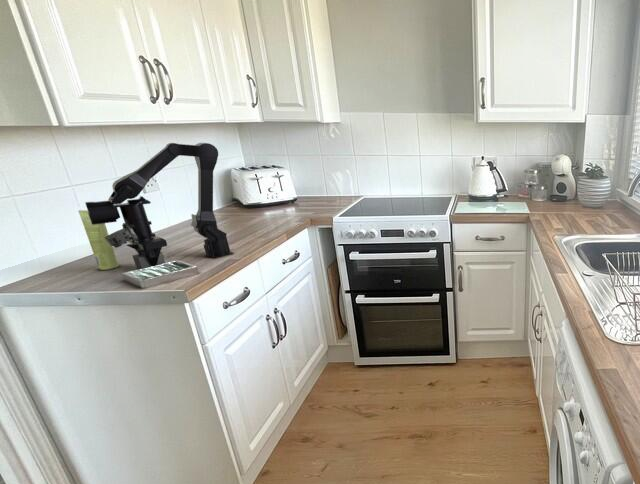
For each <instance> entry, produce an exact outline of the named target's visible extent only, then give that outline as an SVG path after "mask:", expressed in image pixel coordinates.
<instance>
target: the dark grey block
mask: <svg viewBox="0 0 640 484" xmlns="http://www.w3.org/2000/svg"><path fill="white" fill-rule="evenodd" d="M164 257H165V256H164V254H163V252H162V251H160V254H159V258H158V262H157V265H159V264H163V263H166V260H165V258H164ZM132 259H133V262H134V265H135V268H136V270H138V269H142V268H146V267H150V266H151V264H150V262H149V260H148V259H147V257H146V255H145V253H141V254H138V253H137V254H132Z"/></svg>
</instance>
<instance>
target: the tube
mask: <svg viewBox="0 0 640 484" xmlns="http://www.w3.org/2000/svg"><path fill="white" fill-rule="evenodd" d="M77 212H78V214H79V217H80V219H81V222H82V225H83V228H84V231H85V234H86V236H87V239H88V242H89V244H90V248H91V251H92V254H93V256H94V260H95V262H96V265H97V268H98V270H101V271H105V270H111V269H112V270H113V269H116V268H118V267H119V261H118V259H117V257H116V252H115V249H114V247H113V246H111V245H110V244H109V243H108V242H107V241H106V240H105V237H106V236H108V235H109V232H108V229H107V225H106V223H103V224H96V225H92V223H91V221H90V218H89V215H88V213H87V212H88V210H87V209H86V210H85V209H84V210H83V209H78V211H77Z"/></svg>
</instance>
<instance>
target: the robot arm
mask: <svg viewBox="0 0 640 484" xmlns="http://www.w3.org/2000/svg"><path fill="white" fill-rule="evenodd" d="M180 156H184V157H193V158H194V161H195V164H196V167H197V212H196V214H194V213H192V214H191V215H190V216H191V224H190V226H191V227H193V230H194V231H195V232H196V233H197V234H198V235H200V236H202V237H204V238H205V239H203V248H204V252H205V254H204V255H205V256H206V257H209V258H213V259H217V258H221V257H224V256H229V255H233V254H234V252H233V251H231V249H230V245H229V241H228V237H227V236H228V235H227V233H226V232H225V231H223V230H222V229H219V228H218V223H217V219H216V215H215V214H214V171H215V167H216V165H217V163H218V158H219V150H218V148H217V146H215V145H213V144H212V143H208V142H199V143H198V142H197V143H196V144H195V145H194V144H183V143H176V142H169V143H167V144H166V145H165V146H164V147H163V148H162V149H161V150H159V152H157V153H156V154H155V155H154V156H152V157H150V159H149V160H147V161H146V162H145V163H143V164H142V165H141V166H140V167H139V168H138V169H136V170H134V171H132V172H130V173H128V174H126V175H123V176H122V177H120V178H118V179H115V180H114V182H113V183H112V186H111V187H112V192H111V194H110V196H109V197H108V200H101V201H85V202H84V203H85V207H86V210H87V211H88V212H87V213H88V215H89V218H90V221H91V223H92V225H96V224H103V223H105V224H109V223H117V222H118V221H117V220H119V219H121V216H122V218H123V221H124V222H123V223H122V225H121V226H122V228H121V229H118V230H116V231H114V232H112V233H110V234H108V236H106V237H105V240H106V241H107V242H108V243H109V244H110V245H111V246H112V247H113V248H116V249H117V248H120V247H122V246H123V245H125V244H126V246H127V247H129V248H131V249H133V250H135V252H136V253H137V254H141V253H145V255H146V257H147V259H148V260H149V262H150V264H151V266H155V265H157V262H158V258H159V254H160V252H162V249H163V248H165V247H167V246H168V243H167V240H166V239H165V238H163V237H159V236H156V233H154V232H153V230H152V227H151V225H153V224H152V221H151V220H149V218H148V215H147V212H146V209H145V206H144V205H150V204H151V201H150V200H149V199H147V198H145V197H144V196H143V195H140V194H141V192H142V191H143V190H144V189H145V187H146V186H147V185H148V183H149V181H150V180H151V179H153V178H154V176H156V175H157V174H158V173H160V172H161V170H163V169H164V168H166V167H167V166H168V165H169V164H170V163H172V161H174V160H176V158H178V157H180ZM139 195H140V196H139ZM138 196H139V197H138ZM137 197H138V198H137ZM135 198H136V199H135ZM125 201H126V202H125ZM118 208H119V209H120V212H121V215H120V212H119V210H118ZM127 243H128V244H127Z"/></svg>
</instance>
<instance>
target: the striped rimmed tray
mask: <svg viewBox="0 0 640 484" xmlns="http://www.w3.org/2000/svg"><path fill="white" fill-rule="evenodd" d="M198 274H199V270H198V267H197V265H195V264H191V263H189V262H185V261H183V260H179V259H176V260H172V261H167V262H165V263H163V264H159V265H155V266H150V267H146V268H142V269H138V270H137V269H134V270H130V271H125V272H122V273H121V275H122V278H123V280H124V282H126V283H129V284H131V285H133V286H135V287H138V288H140V289H143V290H144V289H147V288H150V287H155V286H158V285H161V284H164V283H168V282H169V283H170V282H172V281H176V280H180V279H183V278H187V277H190V276H195V275H198Z"/></svg>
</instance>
